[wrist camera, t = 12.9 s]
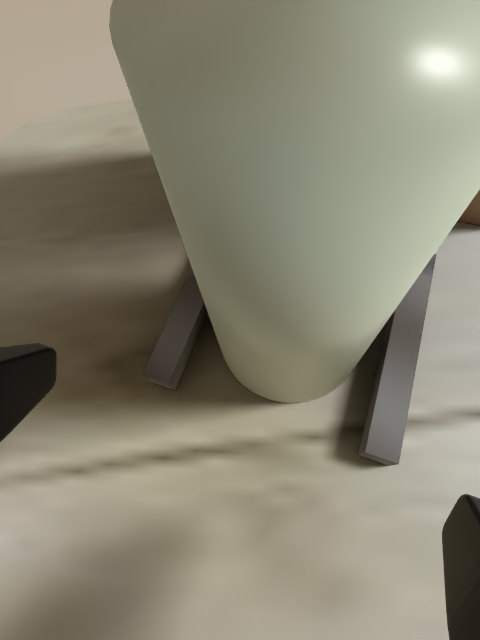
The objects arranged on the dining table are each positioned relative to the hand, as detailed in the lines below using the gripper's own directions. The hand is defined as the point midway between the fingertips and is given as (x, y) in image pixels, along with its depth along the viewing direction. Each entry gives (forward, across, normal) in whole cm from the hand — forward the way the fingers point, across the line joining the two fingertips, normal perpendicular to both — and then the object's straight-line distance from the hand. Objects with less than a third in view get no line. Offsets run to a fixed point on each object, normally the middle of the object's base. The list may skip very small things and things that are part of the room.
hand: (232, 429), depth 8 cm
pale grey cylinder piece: (+10, 0, +1) cm, 10 cm away
